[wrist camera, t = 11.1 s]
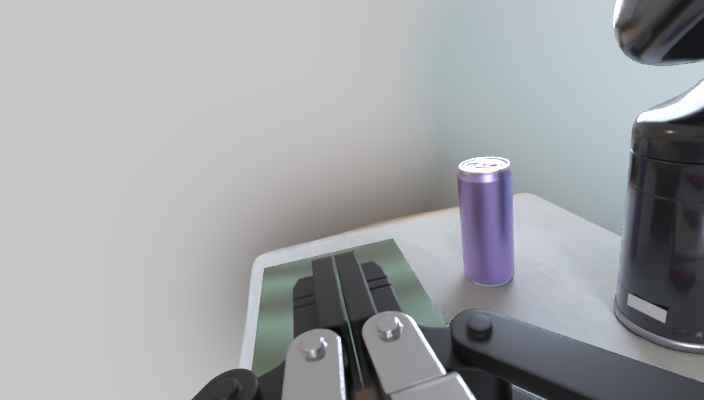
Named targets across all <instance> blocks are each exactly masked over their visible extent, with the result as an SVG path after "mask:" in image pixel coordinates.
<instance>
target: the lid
mask: <svg viewBox="0 0 704 400" xmlns="http://www.w3.org/2000/svg"><path fill="white" fill-rule="evenodd" d="M353 250H355V252H356V255H357V257H358V260H359V263H360V264H361V263H366V262H370V261H375V262H376V263H378V264H379V265H381V266H382V267H383V268H384V270H385V272H386V274H387V277H388V279H389V281H390V283H391V285H392V287H393V289H394V291H395V293H396V296H397V298H398V300H399V302H400V304H401V306H402V308H403V310H404V312H405V314H407V315H409V316H410V317H411V318H413V320H414V321H415V323H416V324H419V325H422V326H426V327H447V325H446V324H445V322H444V320H443V319H442V317H441V315H440V314H439V312H438V311H437V309H436V307H435V306H434V304H433V303H432V301H431V299H430V298H429V296H428V294H427V293H426V291H425V290H424V288H423V286H422V285H421V283H420V282H419V280H418V278H417V277H416V275H415V273H414V272H413V270H412V269H411V267H410V265H409V264H408V262H407V261H406V259H405V257H404V256H403V254H402V252H401V251H400V249H399V248H398V246H397V244H396V243H395V241H394V240H393V239H388V240H384V241H380V242H375V243H371V244H367V245H362V246H358V247H354V248H349V249H345V250H341V251H337V252H332V253H328V254H324V255H319V256H315V257H311V258H306V259H302V260H298V261H293V262H289V263H285V264H280V265H276V266H272V267H268V268H264V274H263V282H262V290H261V298H260V307H259V315H258V323H257V331H256V339H255V347H254V356H253V364H252V372H253V373H254V374H255V375H256V377H259V376H261V375H263V374H265V373H267V372H269V371H271V370H272V369H274V368H276V367H277V366H278V365H280V364H281V363H282V362H283V361H284V360H285V359H286V353H287V349H288V347H289V345H290V344H291V342H292V341H293V340H294V330H293V287H294V286H295V284H296V282H297V281H298V279H299V278H303V277H307V276H311V275H313V271H312V262H311V260H315V259H319V258H324V257H328V256H332V257H333V261H334V265H335V270H336V274H337V278H338V282H339V287H340V291H341V295H342V300H343V304H344V308H345V312H346V307H345V303H344V299H343V294H342V290H341V285H340V280H339V276H338V271H337V267H336V262H335V257H334V255H336V254H340V253H345V252H349V251H353ZM346 317H347V321H348V325H349V330H350V335H351V339H352V344H353V348H354V353H355V357H356V362H357V367H358V371H359V376H360V380H361V382H362V381H363V379H362V375H361V370H360V366H359V362H358V358H357V354H356V350H355V345H354V341H353V337H352V333H351V329H350V324H349V320H348V316H347V312H346Z"/></svg>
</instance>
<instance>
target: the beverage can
mask: <svg viewBox="0 0 704 400" xmlns="http://www.w3.org/2000/svg"><path fill="white" fill-rule="evenodd" d="M458 169H459V171H458V174H457V179H458V192H459V206H460V219H461V232H462V246H463V259H464V272H465V274H466V276H467V277H468V279H469V280H470V281H472V282H473V283H475V284H477V285H479V286H483V287H498V286H502V285H504V284H506V283H508V282H509V281H510V280H511V278H512V277H513V275H514V241H513V193H512V171H511V168H510V162H509V161H508V160H506V159H503V158H498V157H481V158H474V159H470V160H467V161H464V162H462V163H461V164H459V166H458Z"/></svg>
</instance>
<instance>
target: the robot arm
mask: <svg viewBox="0 0 704 400" xmlns="http://www.w3.org/2000/svg"><path fill="white" fill-rule="evenodd" d="M614 32H615V37H616V40H617V43H618V45H619V47H620V48H621V50H622V51H623V52H624V53H625V55H627V56H628V57H630V59H632V60H633V61H636V62H639V63H641V64H646V65H655V66H671V65H679V64H688V63H695V62H702V61H704V0H617V3H616V7H615V13H614ZM334 257H335V262H336V267H337V271H338V276H339V280H340V285H341V290H342V294H343V299H344V303H345V307H346V312H347V316H348V320H349V324H350V329H351V333H352V337H353V341H354V345H355V350H356V354H357V358H358V362H359V366H360V370H361V375H362V379H363V383H364V387H365V389H369V388H373V392H374V395H375V399H376V400H541V399H539V398H537V397H535V396H532V395H530V394H528V393H526V392H524V391H522V390H519V389H517V388H515V387H513V386H512V384H514V385H516V386H519V387H521V388H523V389H525V390H527V391H530V392H532V393H534V394H536V395H538V396H541V397H543V398H545V399H547V400H704V383H702V382H699V381H696V380H693V379H690V378H687V377H684V376H681V375H678V374H675V373H672V372H670V371H667V370H664V369H661V368H658V367H655V366H652V365H649V364H646V363H643V362H640V361H637V360H634V359H631V358H628V357H625V356H622V355H619V354H616V353H613V352H610V351H607V350H604V349H601V348H598V347H595V346H593V345H590V344H587V343H584V342H581V341H578V340H575V339H572V338H569V337H566V336H563V335H560V334H557V333H554V332H551V331H548V330H545V329H542V328H539V327H536V326H533V325H530V324H527V323H524V322H521V321H518V320H516V319H513V318H510V317H507V316H504V315H501V314H498V313H495V312H492V311H488V310H483V309H472V310H467V311H463V312H461V313H459V314H458V315H456V316H455V317H454V318H453V319H452V321H451V324H450V327H426V326H422V325H419V324H416V323H415V321H414V320H413V318H411V317H410V316H409V315H407V314H405V312H404V310H403V308H402V306H401V304H400V302H399V300H398V298H397V296H396V293H395V291H394V289H393V287H392V285H391V283H390V281H389V279H388V277H387V274H386V272H385V270H384V268H383V267H382V266H381V265H379V264H378V263H376V262H375V261H370V262H366V263H361V264H360V263H359V260H358V257H357V255H356V252H355V250H353V251H349V252H345V253H340V254H336V255H334ZM311 262H312V271H313V275H311V276H307V277H303V278H299V279H298V281H297V282H296V284H295V286H294V287H293V330H294V340H293V341H292V342H291V344H290V345H289V347H288V349H287V353H286V359H285V360H284V361H283V362H282V363H281V364H280V365H278V366H277V367H276V368H274V369H272V370H271V371H269V372H267V373H265V374H263V375H261V376H259V377H256V375H255V374H254V373H253V372H252V371H250V370H247V369H234V370H230V371H227V372H224V373H222V374H220V375H219V376H217V377H215V378H214V379H213V380H211V381H210V382H209V383H208V384H207V385H206V386H205V387H204V388H203V389H202V390H201V391H200V392H199V393H198V394H197V395H196V396H195V397H194V398H193V399H192V400H357V396H356V392H358V391H362V390H363V389H362V385H361V380H360V376H359V371H358V367H357V362H356V357H355V353H354V348H353V344H352V339H351V335H350V330H349V325H348V321H347V317H346V312H345V308H344V304H343V300H342V295H341V291H340V287H339V282H338V278H337V274H336V270H335V265H334V261H333V257H332V256H328V257H324V258H319V259H315V260H311ZM614 310H615V313H616V315H617V317H618V319H619V320H620V321H621V322H622V323H623V324H624V325H625V326H626V327H627V328H628V329H630V330H631V331H633V332H634V333H636V334H637V335H639V336H641V337H643V338H644V339H647V340H649V341H651V342H653V343H656V344H658V345H661V346H664V347H667V348H671V349H675V350H679V351H684V352H690V353H702V354H704V78H703V79H702V80H701V81H700V82H698V83H697V84H696V85H694V86H693V87H691V88H690V89H689V90H687V91H685V92H684V93H682V94H680V95H678V96H676V97H674V98H672V99H670V100H668V101H666V102H663V103H661V104H659V105H656V106H654V107H652V108H650V109H648V110H646V111H644V112H643V113H641V114H640V115H639V116H638V117H637V118H636V120H635V122H634V124H633V128H632V136H631V148H630V159H629V169H628V181H627V192H626V202H625V212H624V223H623V233H622V243H621V253H620V263H619V273H618V282H617V292H616V295H615V300H614Z"/></svg>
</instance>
